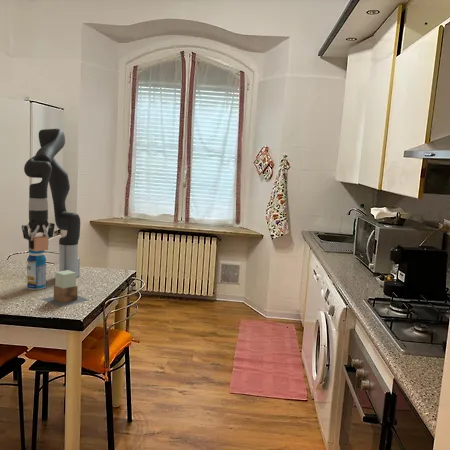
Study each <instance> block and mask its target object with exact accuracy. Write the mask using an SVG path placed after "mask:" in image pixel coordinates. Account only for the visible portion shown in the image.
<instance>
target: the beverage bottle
mask: <svg viewBox="0 0 450 450" xmlns="http://www.w3.org/2000/svg"><path fill="white" fill-rule="evenodd" d="M44 253H45V250H43V251H33V250H30V249H29V248H28V254H29V255H28V257H27V259H26V263H27V264H26V271H27V272H26V273H27V274H26V283H27V284H26V288H27V289H28V290H31V291H39V290H44V289H46V288H47V283H46V282H47V263H46V261H47V258H46V256H45V254H44Z"/></svg>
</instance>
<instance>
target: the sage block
mask: <svg viewBox="0 0 450 450" xmlns="http://www.w3.org/2000/svg"><path fill="white" fill-rule="evenodd" d="M54 278H55V279H54V280H55V281H54V282H55V283H54V284H55V285H54V286H57V287H60V288H63V289H65V288H70V287H75V286H77V277H76V273H75V272H72V271H69V270H65V271H60V272H59V271H56V272H55V277H54Z"/></svg>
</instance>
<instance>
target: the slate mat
mask: <svg viewBox="0 0 450 450" xmlns="http://www.w3.org/2000/svg"><path fill="white" fill-rule="evenodd" d="M42 300H43V301H44V302H48V303H50V304H52V305H55V306H57V307H59V308H62V307H65V306H70V305H75V304H79V303H82V302H87V301H89V299H88V298H85V297H83V296H79V295H77V300H74V301H70V302H66V303H62V302H59V301H57V300H54V296H50V297H46V298H42Z"/></svg>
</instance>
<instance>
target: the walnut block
mask: <svg viewBox="0 0 450 450" xmlns="http://www.w3.org/2000/svg"><path fill="white" fill-rule="evenodd" d="M77 296H78V285H76V286H75V287H70V288H65V289H63V288H60V287H57V286H55V285H53V297H54V300H57V301H59V302H62V303H66V302H70V301H74V300H77Z"/></svg>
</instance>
